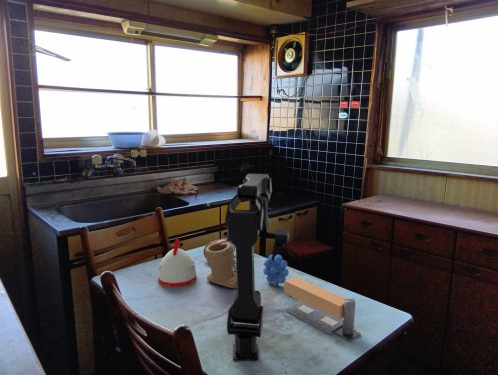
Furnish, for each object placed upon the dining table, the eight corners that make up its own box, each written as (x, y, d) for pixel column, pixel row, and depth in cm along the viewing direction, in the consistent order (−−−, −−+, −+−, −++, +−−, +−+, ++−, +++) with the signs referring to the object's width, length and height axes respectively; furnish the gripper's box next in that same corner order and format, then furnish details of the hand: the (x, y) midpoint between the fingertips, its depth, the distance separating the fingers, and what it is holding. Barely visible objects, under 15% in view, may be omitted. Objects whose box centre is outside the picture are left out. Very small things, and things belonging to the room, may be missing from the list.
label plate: (350, 322, 113) (351, 318, 113) (330, 335, 107) (330, 331, 107) (307, 301, 126) (307, 297, 126) (286, 311, 119) (286, 307, 119)
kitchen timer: (198, 271, 149) (197, 235, 146) (192, 287, 135) (191, 247, 133) (163, 271, 149) (162, 234, 146) (154, 286, 136) (152, 247, 133)
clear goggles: (232, 253, 168) (232, 235, 166) (236, 255, 166) (236, 237, 164) (203, 261, 159) (202, 242, 157) (207, 263, 157) (207, 244, 155)
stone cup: (198, 283, 139) (197, 244, 136) (220, 272, 148) (220, 235, 145) (229, 295, 130) (229, 254, 127) (251, 283, 139) (251, 244, 136)
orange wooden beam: (357, 330, 108) (359, 300, 106) (347, 337, 104) (349, 306, 103) (294, 299, 125) (295, 273, 124) (283, 304, 122) (284, 277, 120)
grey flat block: (360, 335, 107) (360, 333, 107) (350, 341, 104) (350, 339, 104) (345, 327, 111) (345, 325, 111) (335, 334, 108) (335, 332, 107)
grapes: (295, 286, 136) (296, 255, 134) (282, 292, 132) (283, 260, 130) (271, 276, 145) (272, 246, 142) (259, 281, 140) (259, 251, 138)
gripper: (290, 205, 121) (289, 249, 126) (232, 202, 124) (233, 245, 129) (288, 219, 111) (287, 266, 116) (225, 216, 113) (227, 262, 118)
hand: (258, 259), depth 120 cm, fingers open, 9 cm apart
